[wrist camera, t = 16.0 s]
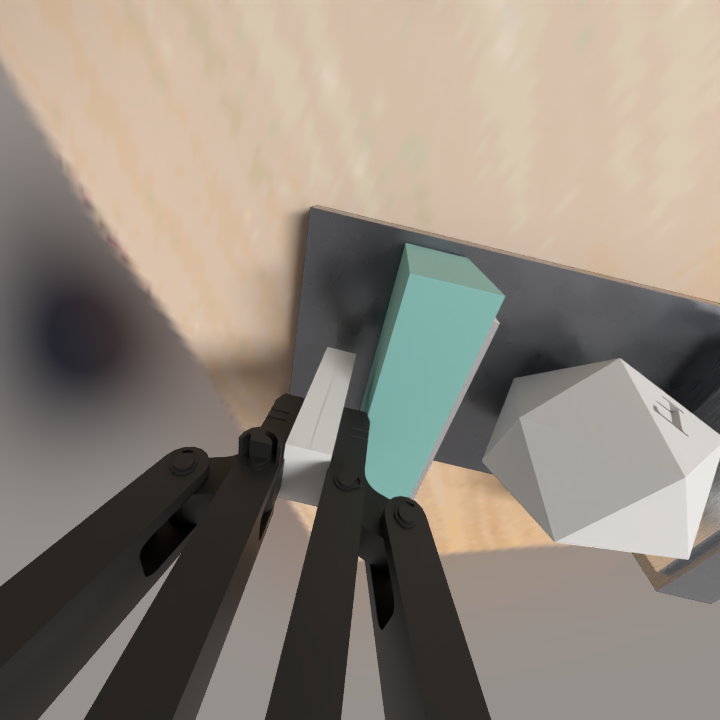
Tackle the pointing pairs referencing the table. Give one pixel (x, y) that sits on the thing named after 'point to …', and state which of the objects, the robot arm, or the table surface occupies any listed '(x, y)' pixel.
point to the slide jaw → (424, 363)
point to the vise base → (519, 345)
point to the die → (605, 459)
